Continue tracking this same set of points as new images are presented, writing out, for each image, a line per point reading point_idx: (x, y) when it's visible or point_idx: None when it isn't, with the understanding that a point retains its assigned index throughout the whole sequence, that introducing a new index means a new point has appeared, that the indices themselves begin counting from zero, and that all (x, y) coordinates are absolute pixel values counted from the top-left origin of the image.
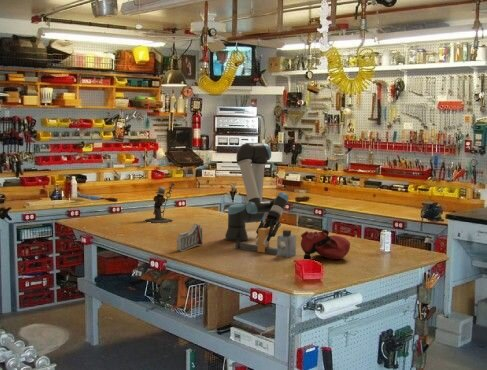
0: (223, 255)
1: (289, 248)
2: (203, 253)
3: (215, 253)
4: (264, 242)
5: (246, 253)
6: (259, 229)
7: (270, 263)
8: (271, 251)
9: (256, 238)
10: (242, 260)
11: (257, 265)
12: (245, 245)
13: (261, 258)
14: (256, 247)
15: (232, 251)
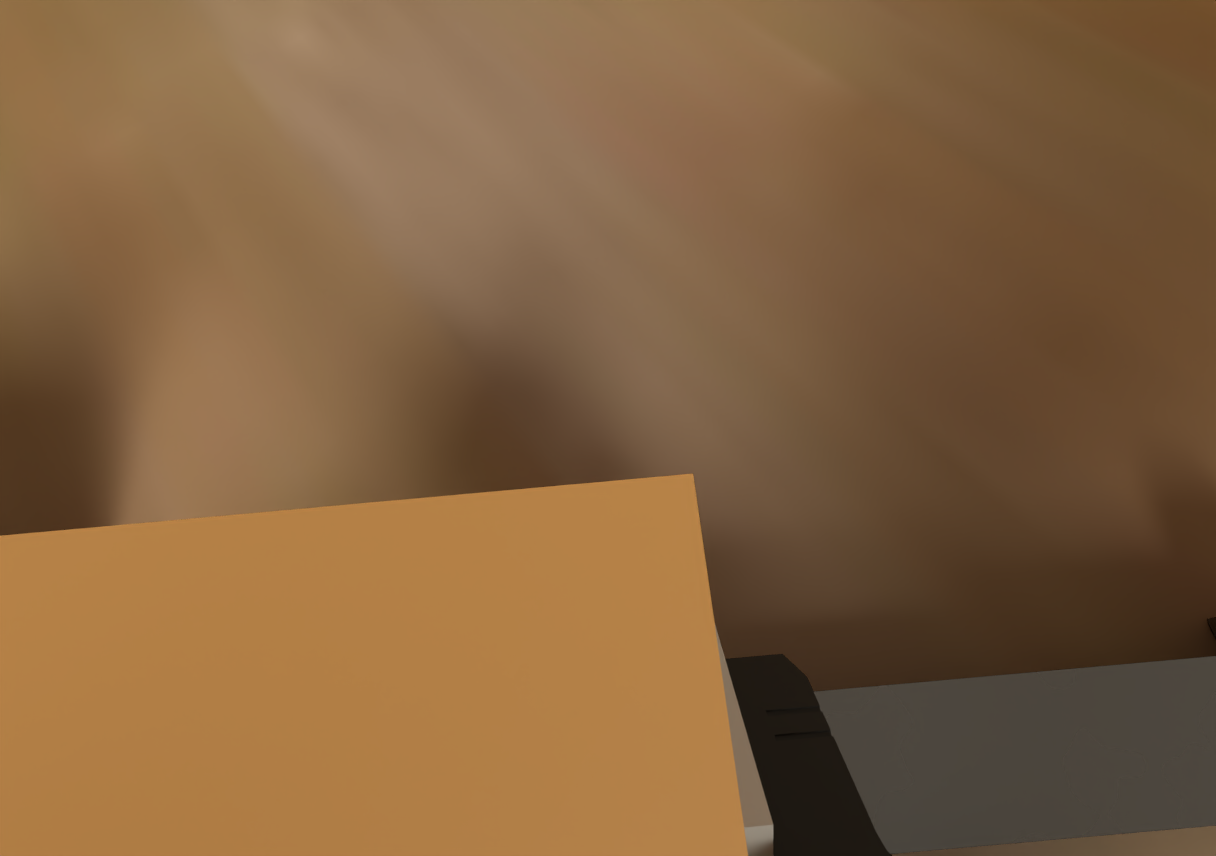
0: (870, 92)
1: None
2: (1154, 13)
3: (1058, 100)
4: None
5: (727, 401)
6: (554, 494)
7: (51, 166)
8: None
9: (777, 666)
10: (466, 66)
11: (174, 20)
12: (1099, 666)
13: (295, 294)
14: None
15: (1034, 355)
